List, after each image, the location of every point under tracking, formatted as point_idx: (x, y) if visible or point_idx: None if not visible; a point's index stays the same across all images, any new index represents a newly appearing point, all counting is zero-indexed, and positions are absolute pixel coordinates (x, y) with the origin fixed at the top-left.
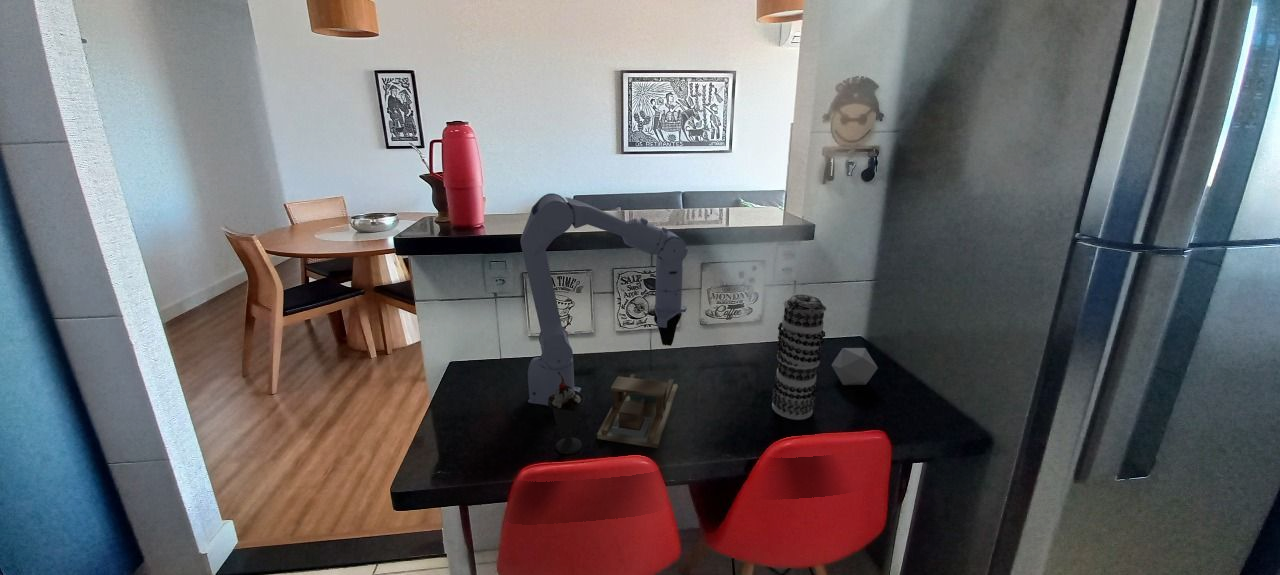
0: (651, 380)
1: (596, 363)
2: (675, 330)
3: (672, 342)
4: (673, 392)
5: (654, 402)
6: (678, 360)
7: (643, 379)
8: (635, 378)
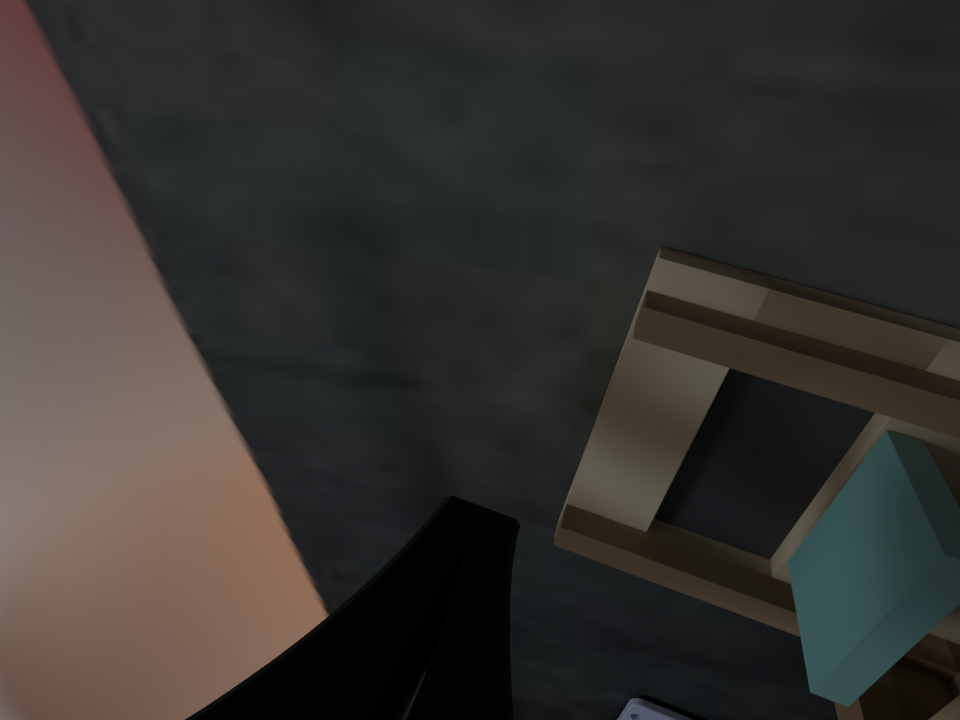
0: (903, 595)
1: None
2: (345, 614)
3: (467, 516)
4: (783, 306)
5: None
6: (259, 196)
7: (863, 636)
8: (831, 675)
